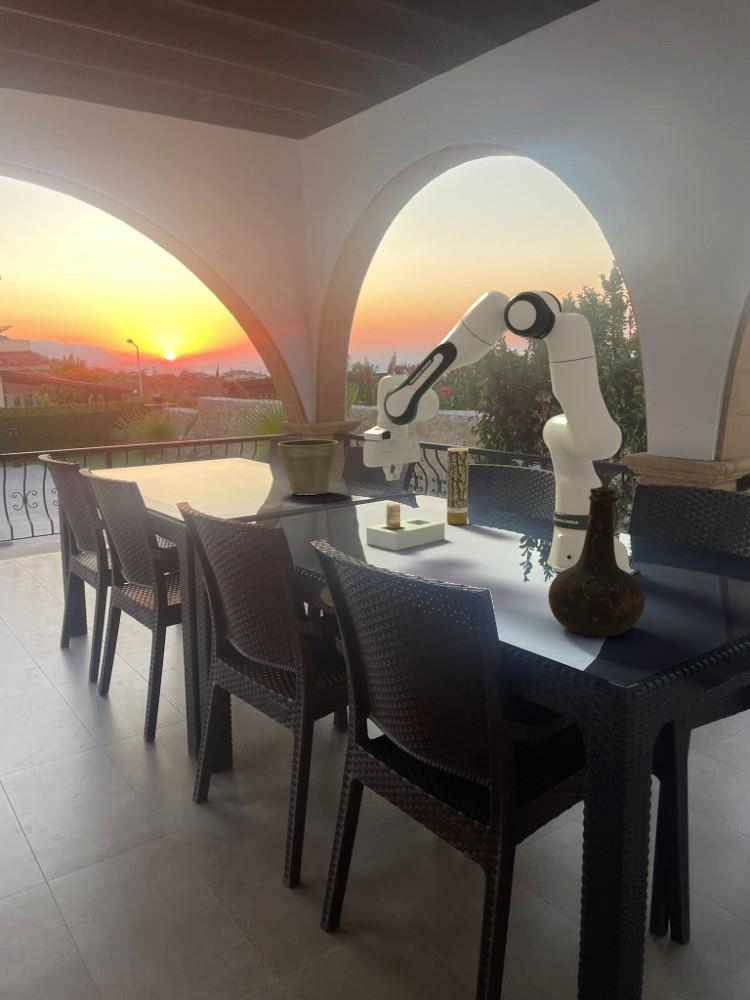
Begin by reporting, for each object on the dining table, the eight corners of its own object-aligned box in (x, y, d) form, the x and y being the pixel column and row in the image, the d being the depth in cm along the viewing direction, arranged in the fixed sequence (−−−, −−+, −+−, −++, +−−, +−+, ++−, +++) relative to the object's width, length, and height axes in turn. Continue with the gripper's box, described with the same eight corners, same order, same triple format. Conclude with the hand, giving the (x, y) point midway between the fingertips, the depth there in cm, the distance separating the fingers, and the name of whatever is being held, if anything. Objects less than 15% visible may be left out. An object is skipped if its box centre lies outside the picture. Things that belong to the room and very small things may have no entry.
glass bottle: (541, 639, 137) (546, 492, 132) (553, 610, 153) (558, 479, 149) (642, 651, 131) (651, 498, 126) (644, 620, 147) (652, 483, 142)
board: (444, 539, 220) (444, 522, 219) (396, 551, 206) (395, 533, 205) (415, 533, 228) (415, 517, 228) (366, 544, 214) (366, 527, 213)
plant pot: (271, 497, 295) (269, 444, 292) (288, 488, 319) (287, 438, 316) (331, 499, 291) (330, 444, 288) (344, 489, 315) (343, 439, 312)
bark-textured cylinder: (466, 525, 239) (467, 449, 234) (445, 525, 240) (446, 449, 236) (468, 521, 245) (469, 447, 241) (447, 521, 246) (448, 447, 242)
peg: (403, 544, 213) (403, 504, 211) (393, 546, 210) (393, 506, 208) (393, 542, 216) (393, 502, 214) (383, 544, 213) (383, 504, 211)
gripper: (409, 429, 217) (409, 475, 219) (359, 433, 203) (359, 482, 205) (425, 430, 212) (425, 477, 215) (375, 434, 198) (375, 485, 201)
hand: (392, 480), depth 210 cm, fingers closed
